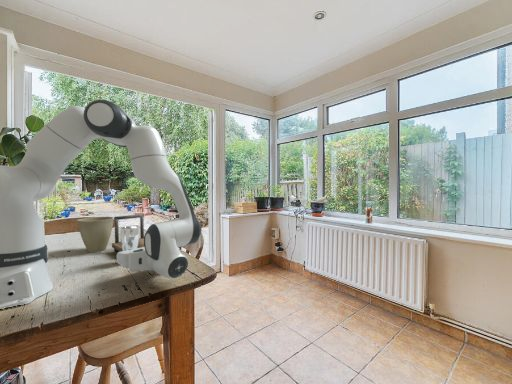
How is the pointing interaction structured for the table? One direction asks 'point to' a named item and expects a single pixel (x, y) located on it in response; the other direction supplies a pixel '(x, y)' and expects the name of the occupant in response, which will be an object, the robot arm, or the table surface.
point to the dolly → (117, 244)
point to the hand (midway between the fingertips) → (140, 248)
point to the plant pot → (95, 232)
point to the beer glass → (129, 237)
